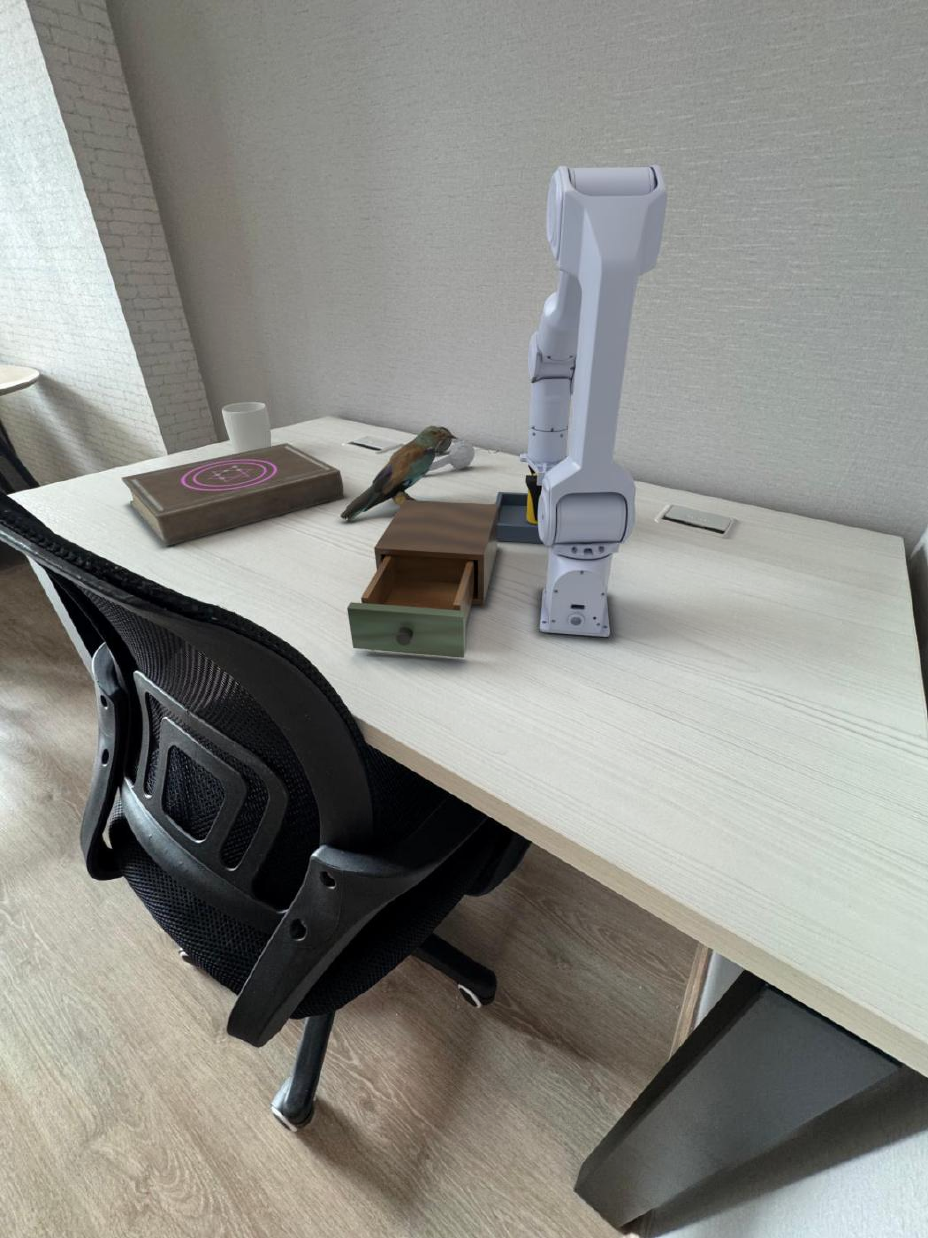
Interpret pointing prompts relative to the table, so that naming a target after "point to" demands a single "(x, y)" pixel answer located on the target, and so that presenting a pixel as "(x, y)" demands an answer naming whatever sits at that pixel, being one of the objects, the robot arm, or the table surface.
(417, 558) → the drawer
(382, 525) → the table surface
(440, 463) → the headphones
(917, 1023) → the table surface
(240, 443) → the mug
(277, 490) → the book
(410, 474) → the bird figurine
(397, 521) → the cabinet
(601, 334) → the robot arm
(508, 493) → the tray
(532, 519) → the pepper
